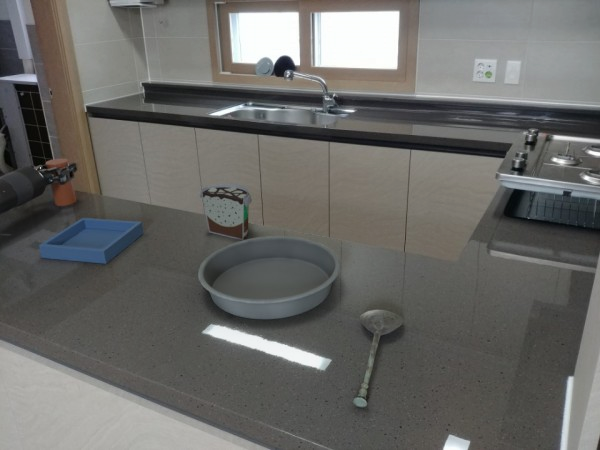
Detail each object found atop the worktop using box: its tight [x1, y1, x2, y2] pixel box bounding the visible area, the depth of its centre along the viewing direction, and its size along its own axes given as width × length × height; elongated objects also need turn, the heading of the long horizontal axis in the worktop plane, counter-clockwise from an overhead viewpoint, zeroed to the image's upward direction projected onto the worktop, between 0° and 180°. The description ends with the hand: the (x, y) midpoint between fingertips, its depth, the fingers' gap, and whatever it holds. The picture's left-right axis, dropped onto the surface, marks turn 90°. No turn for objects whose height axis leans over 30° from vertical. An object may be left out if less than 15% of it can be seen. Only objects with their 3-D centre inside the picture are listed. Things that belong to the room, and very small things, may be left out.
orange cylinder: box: [45, 158, 77, 207], centre depth 136 cm, size 5×5×11 cm
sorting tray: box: [38, 217, 144, 265], centre depth 113 cm, size 15×15×3 cm
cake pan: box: [197, 235, 341, 320], centre depth 94 cm, size 25×25×4 cm
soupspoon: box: [352, 309, 404, 408], centre depth 76 cm, size 22×3×7 cm
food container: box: [199, 183, 253, 241], centre depth 116 cm, size 12×6×10 cm, turn 59°
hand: (64, 166), depth 137 cm, fingers open, 5 cm apart
